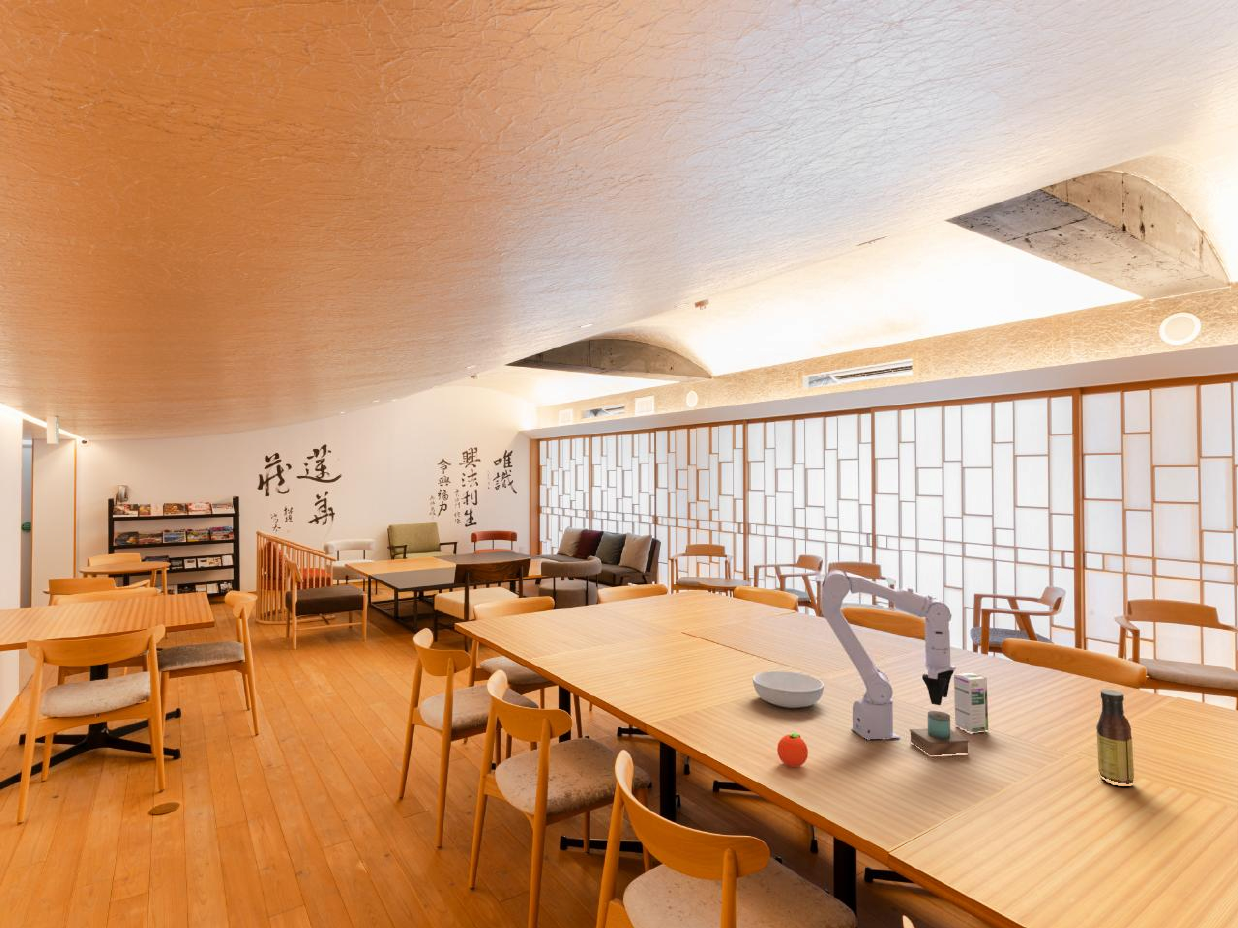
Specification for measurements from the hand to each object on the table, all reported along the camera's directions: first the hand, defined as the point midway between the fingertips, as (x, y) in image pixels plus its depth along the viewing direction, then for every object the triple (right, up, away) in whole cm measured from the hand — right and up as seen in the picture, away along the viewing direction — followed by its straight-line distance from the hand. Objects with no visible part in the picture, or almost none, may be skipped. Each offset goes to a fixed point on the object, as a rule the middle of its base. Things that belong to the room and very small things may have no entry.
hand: (939, 700), depth 163 cm
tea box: (-3, -11, -6) cm, 12 cm away
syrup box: (+12, -11, +8) cm, 18 cm away
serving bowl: (-32, -12, +28) cm, 44 cm away
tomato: (-42, -10, -15) cm, 46 cm away
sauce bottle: (+28, -10, -23) cm, 37 cm away
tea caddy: (-3, -7, -6) cm, 9 cm away
